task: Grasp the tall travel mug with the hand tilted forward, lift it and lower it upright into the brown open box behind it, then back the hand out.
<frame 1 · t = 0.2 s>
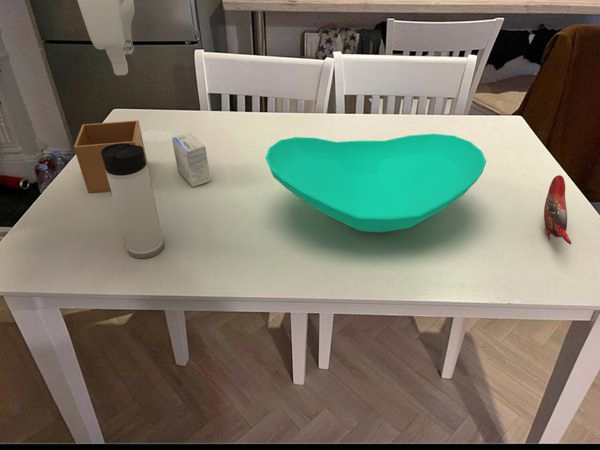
hand: (125, 62, 69), 31 cm above the table, tool pointing down, fingers open, 8 cm apart
brown open box: (119, 177, 102), on the table
travel mug: (146, 248, 83), on the table
decorative bird figurine: (548, 241, 85), on the table
medicine box: (194, 177, 102), on the table
table top decor: (368, 214, 92), on the table
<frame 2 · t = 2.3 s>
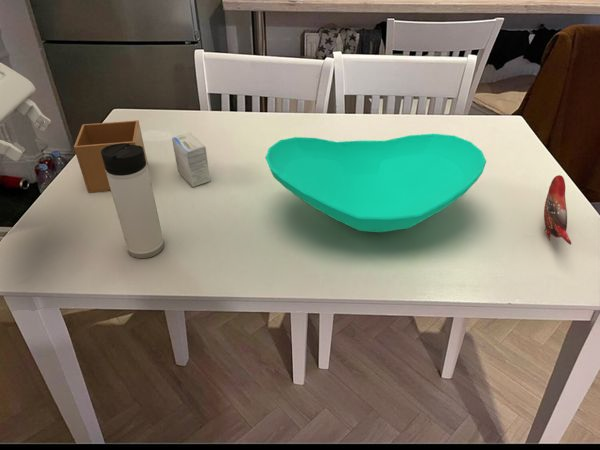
hand: (35, 140, 69), 21 cm above the table, tool tilted 45°, fingers open, 8 cm apart
nothing on the table moved.
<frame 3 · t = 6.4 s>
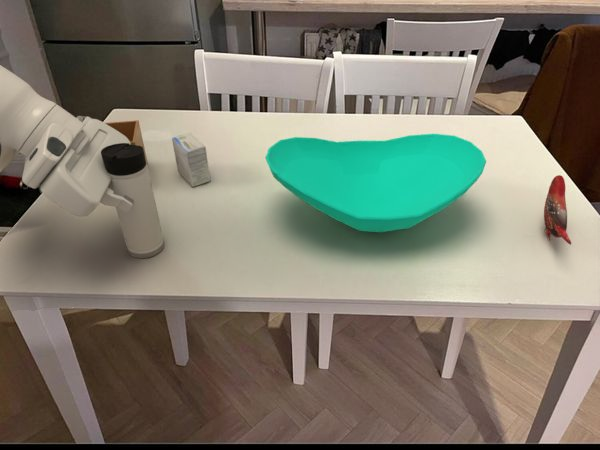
hand: (136, 194, 76), 11 cm above the table, tool tilted 45°, fingers closed on travel mug, 6 cm apart
travel mug: (146, 248, 83), on the table, touching gripper
everything else where it was.
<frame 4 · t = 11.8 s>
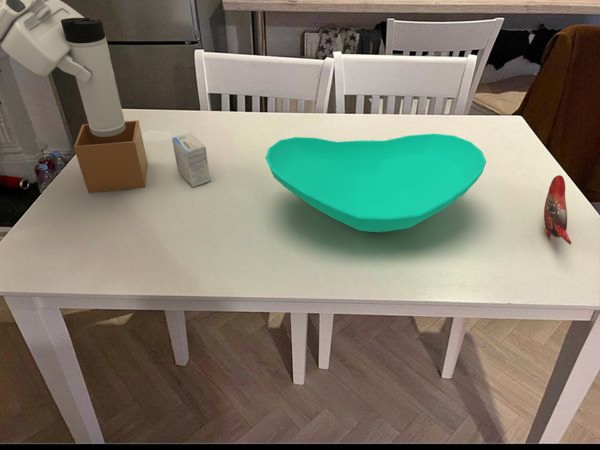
hand: (96, 70, 80), 26 cm above the table, tool tilted 45°, fingers closed on travel mug, 6 cm apart
travel mug: (108, 131, 87), point 14 cm above the table, touching gripper
everything else where it was.
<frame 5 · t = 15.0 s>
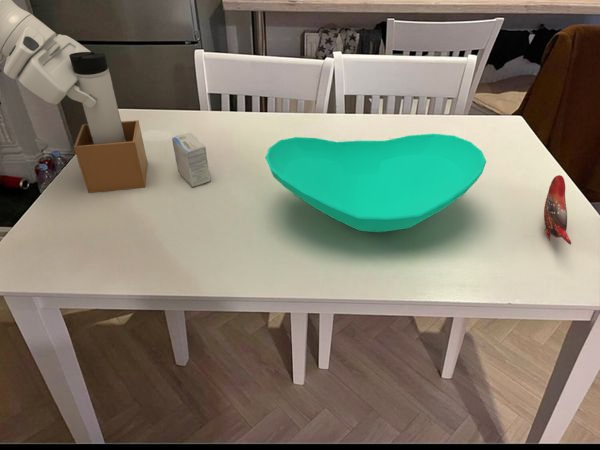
hand: (100, 96, 91), 18 cm above the table, tool tilted 45°, fingers closed on travel mug, 6 cm apart
travel mug: (111, 149, 98), point 7 cm above the table, touching gripper
everything else where it was.
when the fingers open (12 cm above the table, at t = 17.3 s): travel mug stays where it is, resting on brown open box.
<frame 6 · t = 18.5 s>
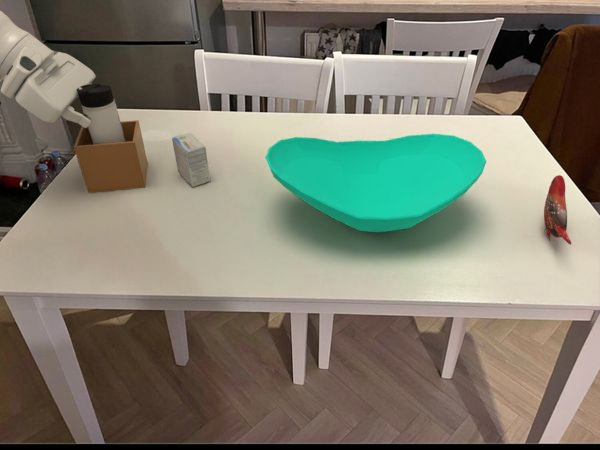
hand: (97, 114, 92), 15 cm above the table, tool tilted 45°, fingers open, 8 cm apart
travel mug: (118, 174, 101), resting on brown open box, touching gripper
everything else where it was.
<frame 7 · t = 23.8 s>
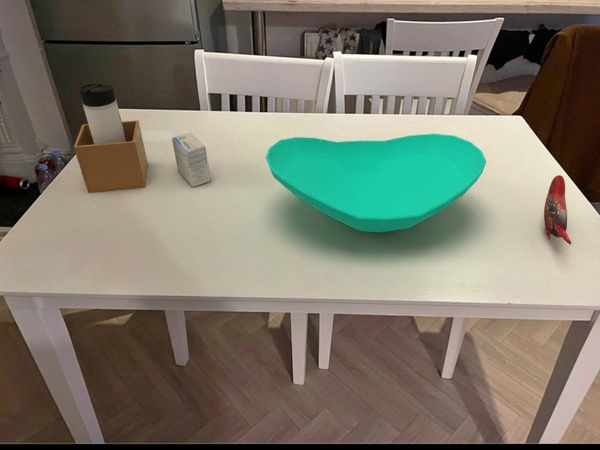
travel mug: (118, 175, 101), resting on brown open box
everything else where it was.
at the end: travel mug inside the target area in the brown open box (0.2 cm from its centre), point 0.4 cm above the brown open box's base; travel mug tilted 0°; the gripper is holding nothing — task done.
